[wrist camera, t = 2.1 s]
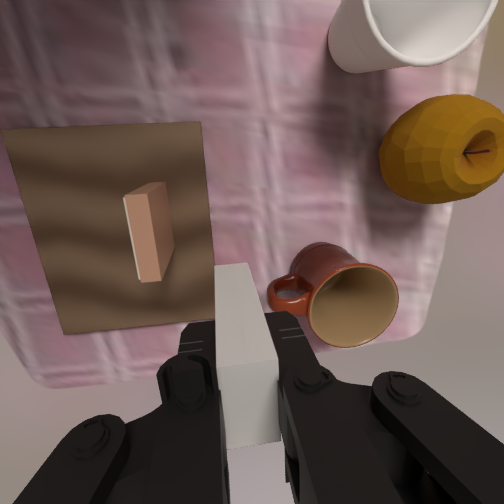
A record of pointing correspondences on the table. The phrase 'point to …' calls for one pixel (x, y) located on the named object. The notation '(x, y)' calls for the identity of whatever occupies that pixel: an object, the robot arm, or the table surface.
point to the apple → (444, 149)
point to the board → (115, 220)
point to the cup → (404, 32)
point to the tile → (150, 230)
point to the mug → (337, 295)
